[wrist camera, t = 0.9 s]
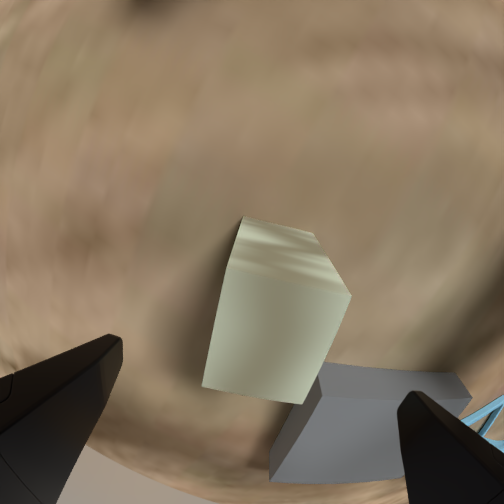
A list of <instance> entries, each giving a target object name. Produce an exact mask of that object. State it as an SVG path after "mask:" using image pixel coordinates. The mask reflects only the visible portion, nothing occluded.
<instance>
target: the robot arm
mask: <svg viewBox="0 0 504 504" xmlns="http://www.w3.org/2000/svg"><path fill="white" fill-rule="evenodd" d="M122 362H123V341H122V339H121V338H120V337H118V336H115V335H112V334H106V335H104V336H102V337H99V338H97V339H95V340H92V341H90V342H87V343H85V344H83V345H80V346H78V347H75V348H73V349H71V350H68V351H66V352H63V353H61V354H59V355H56V356H54V357H51V358H49V359H46V360H44V361H42V362H39V363H37V364H34V365H32V366H29V367H27V368H24V369H22V370H19V371H17V372H15V373H14V374H9V375H7V376H4V377H2V378H0V504H56V503H57V500H58V498H59V496H60V494H61V492H62V490H63V488H64V485H65V483H66V481H67V479H68V477H69V475H70V473H71V471H72V469H73V467H74V465H75V463H76V461H77V459H78V457H79V455H80V453H81V451H82V450H83V448H84V446H85V444H86V442H87V440H88V438H89V436H90V434H91V432H92V430H93V429H94V427H95V425H96V423H97V421H98V419H99V417H100V416H101V414H102V412H103V410H104V408H105V406H106V403H107V401H108V398H109V396H110V393H111V391H112V388H113V386H114V383H115V381H116V378H117V376H118V374H119V371H120V369H121V366H122ZM397 421H398V430H399V441H400V450H401V457H402V462H403V468H404V473H405V479H406V486H407V492H408V499H409V504H504V453H503V452H502V451H501V450H499V449H498V448H496V447H495V446H494V445H492V444H491V443H489V442H488V441H487V440H486V439H484V438H483V437H482V436H480V435H479V434H478V433H476V432H475V431H474V430H472V429H471V428H470V427H468V426H467V425H466V424H464V423H463V422H462V421H460V420H459V419H458V418H456V417H455V416H454V415H452V414H451V413H450V412H449V411H447V410H446V409H445V408H443V407H442V406H441V405H439V404H438V403H437V402H435V401H434V400H433V399H431V398H430V397H429V396H427V395H426V394H425V393H424V392H422V391H418V390H412V391H410V392H409V393H408V394H407V395H406V397H405V398H404V400H403V401H402V402H401V404H400V405H399V407H398V409H397Z"/></svg>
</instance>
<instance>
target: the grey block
mask: <svg viewBox="0 0 504 504" xmlns="http://www.w3.org/2000/svg"><path fill="white" fill-rule="evenodd" d="M412 390H418V391H422V392H424V393H425V394H426V395H427V396H429V397H430V398H431V399H433V400H434V401H435V402H437V403H438V404H439V405H441V406H442V407H443V408H445V409H446V410H447V411H449V412H450V413H451V414H452V415H454V416H455V417H456V418H458V416H459V415H460V414H461V413H462V411H463V410H464V409H465V407H466V406H467V405H468V403H469V402H470V401H471V399H472V398H473V397H472V396H471V395H470V393H469V392H468V390H467V389H466V387H465V386H464V385H463V383H462V382H461V380H460V379H459V378H458V376H457V375H456V373H447V372H422V371H405V370H392V369H380V368H370V367H361V366H352V365H344V364H336V363H329V362H323V364H322V366H321V368H320V370H319V372H318V374H317V376H316V378H315V380H314V382H313V384H312V386H311V388H310V390H309V392H308V394H307V396H306V398H305V400H304V402H303V404H294V406H293V408H292V410H291V412H290V414H289V415H288V417H287V419H286V421H285V423H284V425H283V427H282V429H281V431H280V433H279V435H278V436H277V438H276V440H275V442H274V444H273V446H272V447H271V449H270V451H269V482H281V483H301V484H339V483H358V482H370V481H380V480H389V479H396V478H401V477H402V476H404V475H405V473H404V468H403V462H402V457H401V450H400V441H399V430H398V421H397V409H398V407H399V405H400V404H401V402H402V401H403V400H404V398H405V397H406V395H407V394H408V393H409V392H410V391H412Z"/></svg>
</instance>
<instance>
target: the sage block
mask: <svg viewBox="0 0 504 504" xmlns="http://www.w3.org/2000/svg"><path fill="white" fill-rule="evenodd" d="M351 297H352V296H351V294H350V293H349V291H348V289H347V288H346V286H345V284H344V283H343V281H342V279H341V278H340V276H339V274H338V273H337V271H336V269H335V268H334V266H333V265H332V263H331V261H330V260H329V258H328V257H327V255H326V253H325V252H324V250H323V249H322V247H321V245H320V244H319V242H318V241H317V239H316V238H315V236H314V235H313V233H310V232H306V231H303V230H299V229H295V228H291V227H287V226H283V225H279V224H275V223H270V222H266V221H262V220H258V219H254V218H250V217H246V216H243V218H242V221H241V224H240V227H239V231H238V234H237V237H236V240H235V243H234V246H233V249H232V252H231V255H230V258H229V261H228V264H227V268H226V272H225V276H224V281H223V286H222V290H221V295H220V299H219V304H218V309H217V313H216V318H215V323H214V328H213V332H212V337H211V342H210V347H209V352H208V357H207V362H206V367H205V372H204V377H203V382H202V387H206V388H210V389H215V390H219V391H224V392H229V393H234V394H239V395H244V396H249V397H255V398H261V399H267V400H273V401H280V402H287V403H294V404H303V402H304V400H305V398H306V396H307V394H308V392H309V390H310V388H311V386H312V384H313V382H314V380H315V378H316V376H317V374H318V372H319V370H320V368H321V366H322V364H323V362H324V360H325V357H326V355H327V353H328V351H329V349H330V346H331V344H332V342H333V340H334V337H335V335H336V333H337V331H338V328H339V326H340V324H341V321H342V319H343V316H344V314H345V312H346V309H347V307H348V304H349V302H350V299H351Z"/></svg>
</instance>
